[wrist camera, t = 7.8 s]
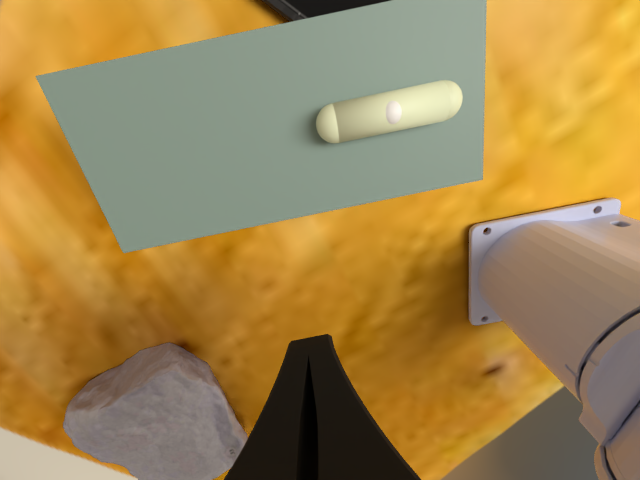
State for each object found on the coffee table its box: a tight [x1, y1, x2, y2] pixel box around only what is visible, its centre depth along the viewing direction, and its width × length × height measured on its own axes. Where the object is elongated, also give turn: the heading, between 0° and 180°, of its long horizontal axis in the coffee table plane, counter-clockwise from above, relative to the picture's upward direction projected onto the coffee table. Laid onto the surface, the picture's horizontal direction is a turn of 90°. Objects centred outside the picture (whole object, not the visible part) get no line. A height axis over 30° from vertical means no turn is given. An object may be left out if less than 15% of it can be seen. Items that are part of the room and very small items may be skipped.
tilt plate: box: [36, 0, 486, 253], centre depth 12 cm, size 16×7×3 cm, turn 101°
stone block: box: [63, 343, 248, 480], centre depth 24 cm, size 12×5×10 cm
